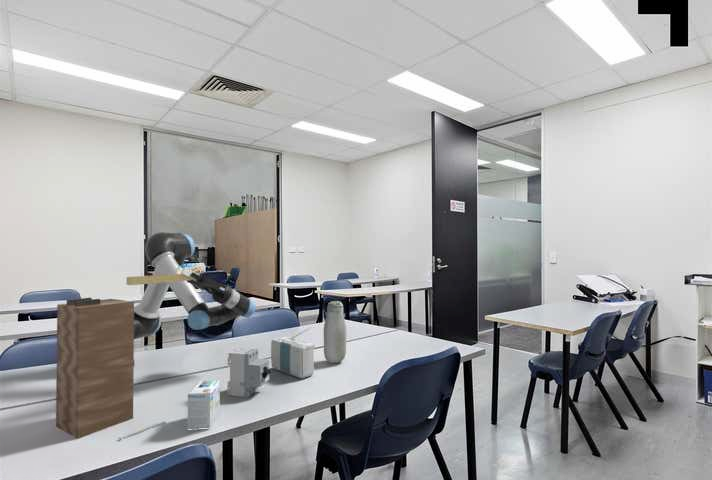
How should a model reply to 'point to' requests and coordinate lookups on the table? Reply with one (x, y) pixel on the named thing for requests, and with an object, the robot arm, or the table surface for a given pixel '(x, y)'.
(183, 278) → the light wood bar
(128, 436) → the ruler
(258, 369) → the circuit breaker
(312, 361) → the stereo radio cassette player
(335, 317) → the grey water bottle
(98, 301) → the walnut stand
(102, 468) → the table surface
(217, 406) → the light bulb box
